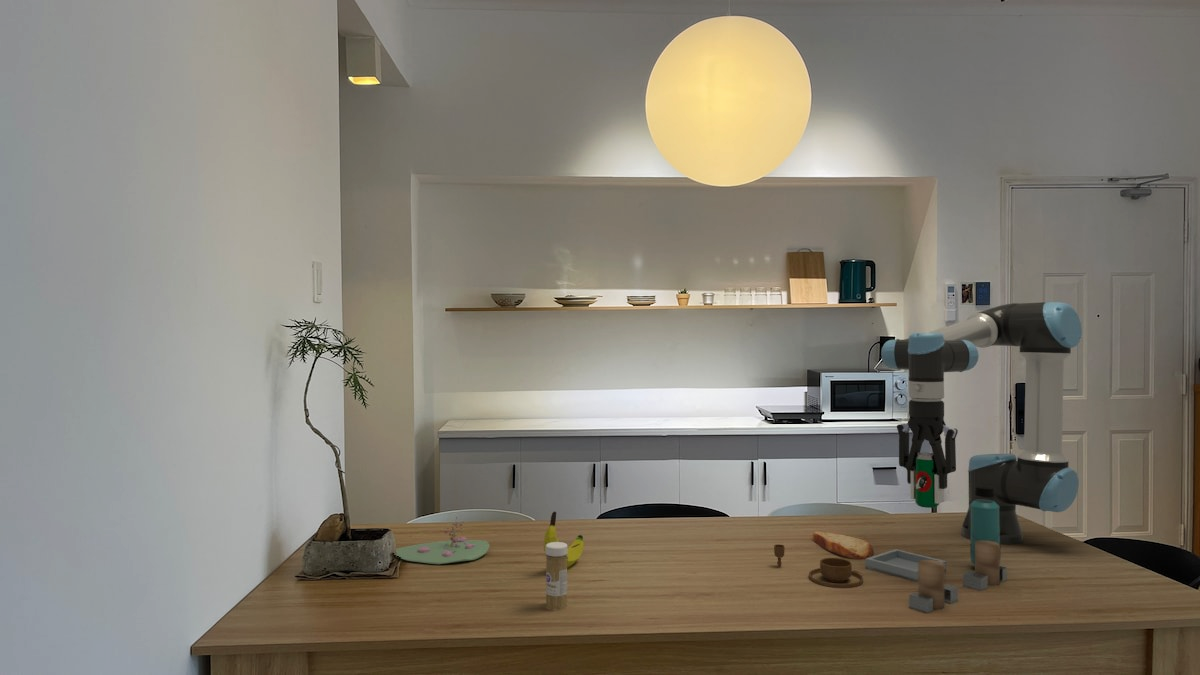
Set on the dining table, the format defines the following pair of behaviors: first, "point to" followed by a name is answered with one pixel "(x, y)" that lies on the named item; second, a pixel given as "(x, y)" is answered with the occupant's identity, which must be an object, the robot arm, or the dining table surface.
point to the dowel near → (931, 581)
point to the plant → (445, 550)
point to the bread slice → (844, 545)
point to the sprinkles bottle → (556, 576)
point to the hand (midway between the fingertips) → (927, 500)
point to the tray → (898, 564)
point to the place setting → (828, 570)
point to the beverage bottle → (984, 519)
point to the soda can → (925, 480)
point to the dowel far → (988, 560)
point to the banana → (550, 536)
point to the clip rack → (954, 590)
